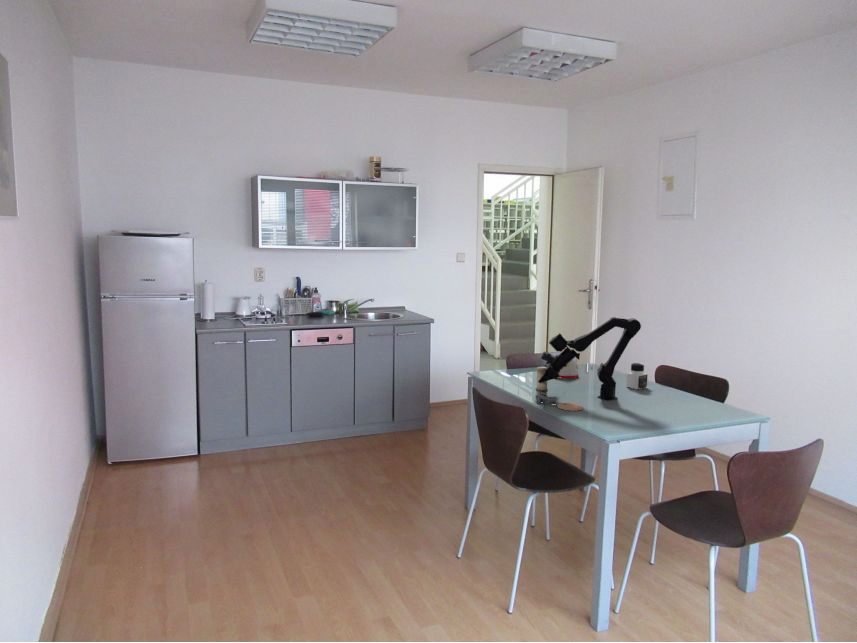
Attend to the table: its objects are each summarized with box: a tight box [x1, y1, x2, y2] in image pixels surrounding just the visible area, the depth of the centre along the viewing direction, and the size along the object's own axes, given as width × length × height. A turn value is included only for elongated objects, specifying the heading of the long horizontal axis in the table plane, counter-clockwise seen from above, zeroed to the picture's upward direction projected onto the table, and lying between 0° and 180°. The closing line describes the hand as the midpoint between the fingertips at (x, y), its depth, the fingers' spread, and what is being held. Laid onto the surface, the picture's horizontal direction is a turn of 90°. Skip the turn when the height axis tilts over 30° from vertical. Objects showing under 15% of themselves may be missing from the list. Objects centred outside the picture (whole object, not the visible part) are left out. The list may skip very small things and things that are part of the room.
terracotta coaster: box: [556, 402, 584, 412], centre depth 278 cm, size 11×11×1 cm
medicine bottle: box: [625, 362, 649, 390], centre depth 315 cm, size 7×7×12 cm
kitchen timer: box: [559, 348, 579, 379], centre depth 339 cm, size 14×14×15 cm
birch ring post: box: [535, 366, 549, 396], centre depth 298 cm, size 6×6×13 cm
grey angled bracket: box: [536, 392, 557, 405], centre depth 286 cm, size 7×13×3 cm, turn 30°
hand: (539, 381), depth 299 cm, fingers closed on birch ring post, 5 cm apart
